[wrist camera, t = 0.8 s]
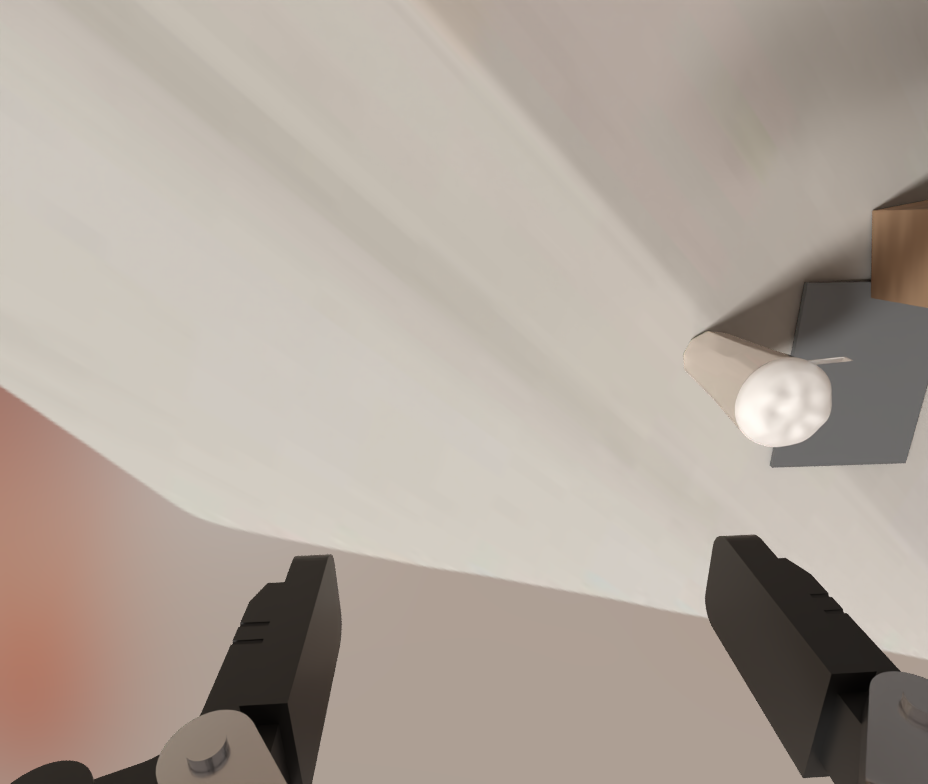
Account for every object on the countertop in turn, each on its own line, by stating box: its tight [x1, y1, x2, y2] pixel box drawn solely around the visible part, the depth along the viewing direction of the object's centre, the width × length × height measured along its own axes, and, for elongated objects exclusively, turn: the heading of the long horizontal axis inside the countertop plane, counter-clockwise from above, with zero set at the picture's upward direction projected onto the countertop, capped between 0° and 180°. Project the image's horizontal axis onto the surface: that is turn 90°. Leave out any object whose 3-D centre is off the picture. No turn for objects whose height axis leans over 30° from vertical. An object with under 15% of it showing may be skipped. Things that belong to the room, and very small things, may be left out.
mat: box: [770, 281, 928, 468], centre depth 36 cm, size 12×9×1 cm
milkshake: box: [683, 331, 853, 447], centre depth 30 cm, size 4×5×10 cm
